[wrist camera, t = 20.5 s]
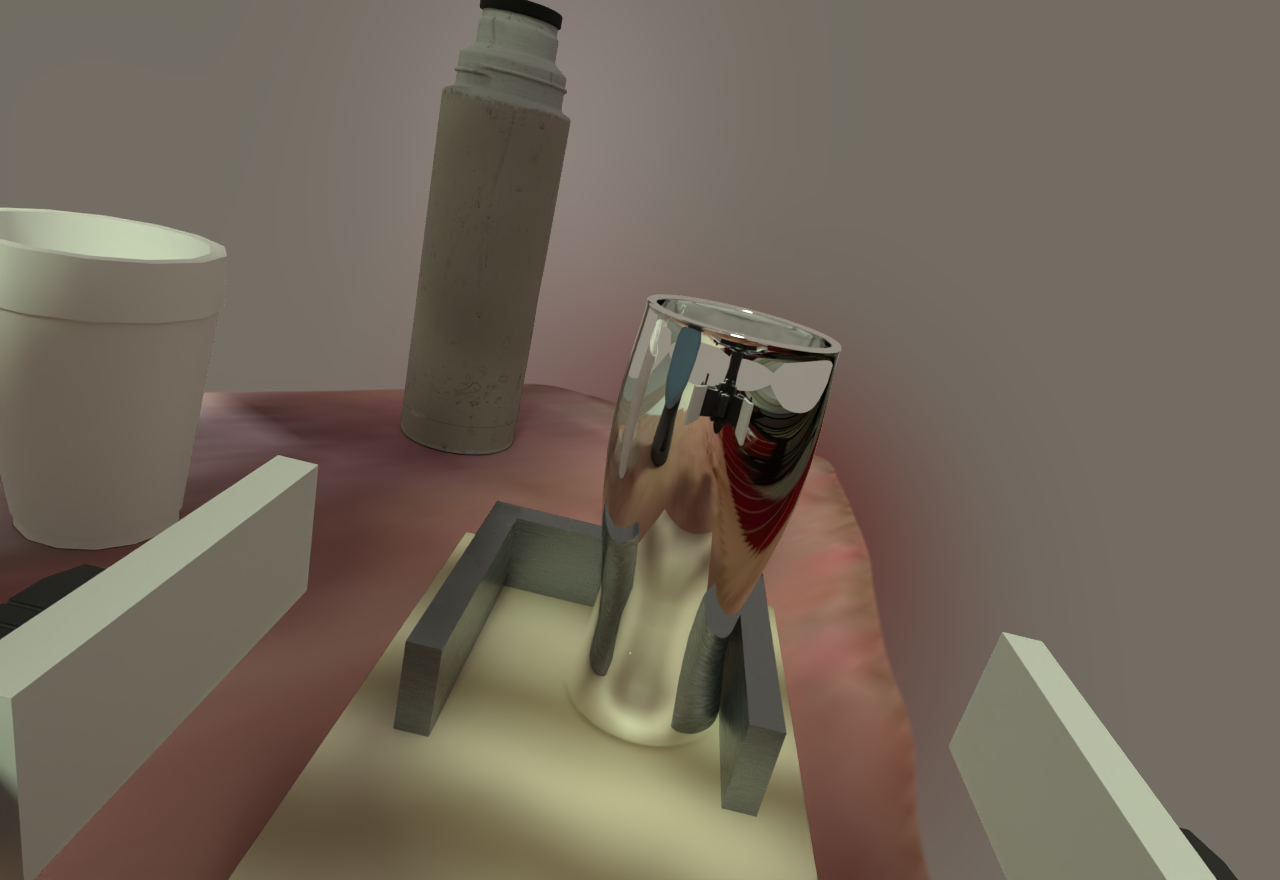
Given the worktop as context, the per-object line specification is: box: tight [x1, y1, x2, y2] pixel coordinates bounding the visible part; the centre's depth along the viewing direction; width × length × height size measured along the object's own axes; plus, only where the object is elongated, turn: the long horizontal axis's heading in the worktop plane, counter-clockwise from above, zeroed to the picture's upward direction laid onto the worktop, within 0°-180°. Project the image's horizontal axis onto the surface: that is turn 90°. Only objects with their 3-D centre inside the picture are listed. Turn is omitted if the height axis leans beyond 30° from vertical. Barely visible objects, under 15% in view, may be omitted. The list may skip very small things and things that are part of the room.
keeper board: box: [228, 532, 817, 880], centre depth 27 cm, size 24×16×2 cm, turn 174°
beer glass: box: [566, 294, 841, 747], centre depth 27 cm, size 7×7×15 cm
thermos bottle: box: [401, 0, 570, 455], centre depth 50 cm, size 8×8×28 cm
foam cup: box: [0, 208, 227, 550], centre depth 33 cm, size 10×9×13 cm
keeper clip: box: [393, 501, 787, 817], centre depth 30 cm, size 11×12×4 cm
